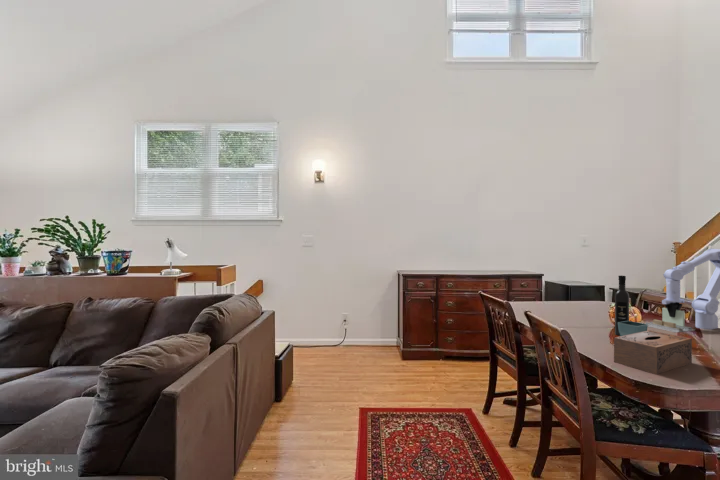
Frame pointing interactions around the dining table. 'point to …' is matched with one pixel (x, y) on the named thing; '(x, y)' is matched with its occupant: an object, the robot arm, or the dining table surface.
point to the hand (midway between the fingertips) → (673, 316)
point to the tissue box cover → (653, 351)
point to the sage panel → (678, 318)
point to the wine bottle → (621, 304)
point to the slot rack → (677, 329)
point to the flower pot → (631, 327)
